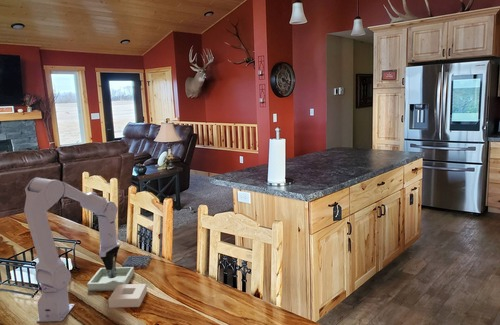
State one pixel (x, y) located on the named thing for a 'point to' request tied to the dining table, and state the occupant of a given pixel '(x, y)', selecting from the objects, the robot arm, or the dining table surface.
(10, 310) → the dining table surface
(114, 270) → the steel pin
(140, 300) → the block
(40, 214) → the robot arm
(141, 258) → the woven mat
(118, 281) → the tray
